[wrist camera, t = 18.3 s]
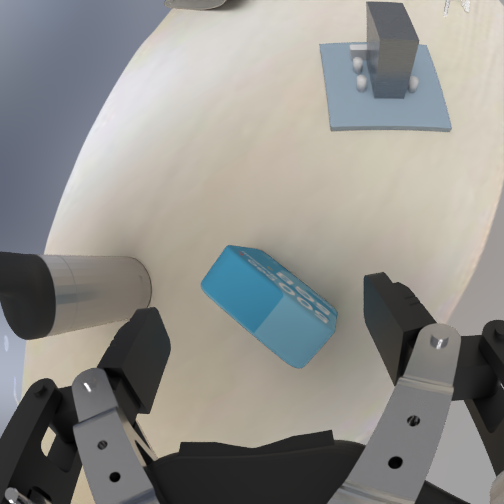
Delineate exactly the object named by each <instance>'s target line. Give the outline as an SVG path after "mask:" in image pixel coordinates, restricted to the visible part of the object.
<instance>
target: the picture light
mask: <svg viewBox="0 0 504 504" xmlns="http://www.w3.org/2000/svg"><path fill="white" fill-rule="evenodd" d="M449 2H450V0H446V4H445V9H444V14H443V15H444V17H446V16H447V13H448V8H449ZM461 2H462V6H464V11H465V12H467V13H468V12H469V4H470V2H469V1H467V0H466V1H465V2H463V0H462V1H461Z"/></svg>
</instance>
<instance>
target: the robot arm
mask: <svg viewBox="0 0 504 504" xmlns="http://www.w3.org/2000/svg"><path fill="white" fill-rule="evenodd" d="M150 297H151V284H150V279H149V276H148V274H147V271H146V269H145V268H144V267H143V265H142V264H141V263H140V262H139V261H137V260H136V259H134V258H130V257H110V256H76V255H40V254H39V255H38V254H19V253H11V252H0V302H1V306H2V309H3V312H4V315H5V318H6V320H7V322H8V324H9V326H10V327H11V329H12V330H13V331H14V333H15V334H16V335H17V336H18V337H20V338H22V339H25V340H32V339H38V338H43V337H47V336H52V335H57V334H62V333H66V332H71V331H76V330H80V329H85V328H89V327H94V326H99V325H103V324H107V323H112V322H116V321H121V320H125V319H130V318H131V319H130V321H129V322H127V323H126V324H125V325H123V326H122V327H121V328H120V329H119V330H118V332H117V333H116V335H115V337H114V340H112V342H111V343H110V347H108V349H107V350H106V352H105V354H104V355H103V357H102V359H101V361H100V362H99V364H98V366H97V368H91V369H88V370H85V371H83V372H82V373H80V374H79V375H78V376H77V377H76V378H75V379H74V381H73V383H72V386H68V387H64V388H59V389H58V387H57V386H56V384H55V383H54V382H53V380H51V379H49V378H44V379H41V380H38V381H37V382H35V383H34V384H32V385H31V386H30V388H29V389H28V391H27V392H26V394H25V396H24V397H23V399H22V401H21V402H20V404H19V406H18V407H17V409H16V411H15V413H14V415H13V416H12V418H11V420H10V422H9V423H8V425H7V427H6V429H5V431H4V433H3V434H2V436H1V438H0V504H70V503H71V500H72V496H73V493H74V490H75V487H76V483H77V480H78V477H79V474H80V471H81V468H82V465H83V468H84V472H85V475H86V478H87V481H88V484H89V487H90V490H91V493H92V495H93V498H94V501H95V503H96V504H470V503H468V502H466V501H464V500H461V499H460V498H458V497H456V496H454V495H452V494H450V493H448V492H446V491H444V490H443V489H441V488H439V487H437V486H435V485H433V484H431V483H430V482H428V481H426V480H425V478H426V476H427V474H428V471H429V469H430V466H431V463H432V461H433V458H434V455H435V453H436V450H437V447H438V443H439V441H440V438H441V434H442V431H443V428H444V425H445V422H446V418H447V414H448V411H449V407H450V403H451V401H455V400H464V402H465V404H466V406H467V408H468V410H469V412H470V414H471V416H472V419H473V421H474V423H475V425H476V427H477V429H478V432H479V434H480V436H481V439H482V441H483V444H484V446H485V448H486V451H487V453H488V456H489V458H490V461H491V463H492V466H493V469H494V472H495V474H496V479H495V480H494V481H493V483H492V486H491V489H490V504H504V389H503V388H502V386H501V383H502V385H503V387H504V321H503V320H493V321H490V322H488V323H487V324H486V325H485V326H484V328H483V331H482V335H475V336H460V334H459V333H458V331H457V330H456V329H454V328H453V327H451V326H449V325H446V324H440V323H437V322H436V321H435V320H434V318H433V317H432V316H431V315H430V313H429V312H428V311H427V310H426V308H425V307H424V306H423V305H422V303H420V301H419V300H418V298H417V297H415V295H414V293H413V292H412V291H411V290H410V289H409V288H408V287H407V286H405V285H403V284H401V283H399V282H396V283H392V281H391V280H390V279H389V277H388V276H387V275H386V274H385V273H384V272H381V273H376V274H370V275H365V277H364V318H365V323H366V326H367V328H368V330H369V332H370V334H371V336H372V338H373V340H374V342H375V345H376V347H377V349H378V351H379V353H380V355H381V357H382V360H383V362H384V364H385V366H386V368H387V370H388V373H389V375H390V377H391V379H392V382H393V384H394V386H396V387H395V389H394V391H393V393H392V396H391V398H390V400H389V402H388V404H387V406H386V409H385V411H384V413H383V415H382V417H381V419H380V421H379V423H378V425H377V427H376V429H375V431H374V432H373V434H372V436H371V438H370V440H369V442H368V444H367V445H363V444H360V443H356V442H352V441H345V440H334V438H333V433H332V430H328V431H323V432H317V433H311V434H304V435H297V436H292V437H289V438H286V439H283V440H280V441H277V442H274V443H271V444H268V445H264V446H261V447H257V448H247V447H240V446H234V445H229V444H223V443H218V442H181V444H180V449H179V452H177V453H173V454H169V455H167V456H164V457H161V458H159V459H158V457H157V456H156V454H155V452H154V451H153V449H152V447H151V445H150V443H149V442H148V440H147V438H146V436H145V434H144V432H143V430H142V428H141V426H140V424H139V423H138V421H137V420H136V416H137V414H138V413H140V414H150V411H151V408H152V405H153V402H154V399H155V396H156V393H157V390H158V387H159V384H160V381H161V378H162V375H163V372H164V369H165V366H166V363H167V360H168V357H169V355H170V351H171V345H170V339H169V337H168V334H167V332H166V329H165V327H164V324H163V322H162V319H161V317H160V314H159V312H158V310H157V308H155V307H150V308H147V306H148V304H149V301H150ZM48 426H49V427H50V428H51V429H52V430H53V432H54V433H55V434H56V437H55V439H54V442H53V444H52V446H51V449H50V451H49V453H48V456H47V457H46V456H45V455H44V454H43V452H42V449H41V441H42V439H43V437H44V435H45V433H46V430H47V428H48Z"/></svg>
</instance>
